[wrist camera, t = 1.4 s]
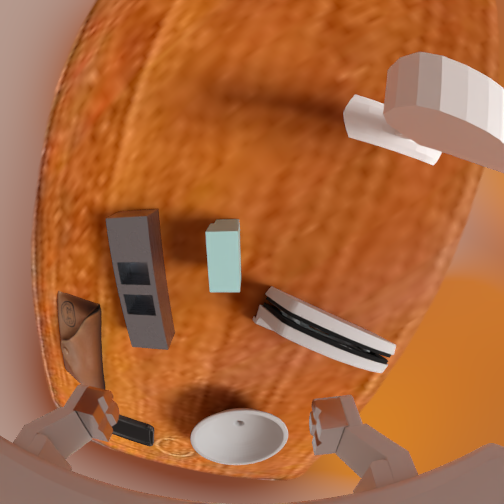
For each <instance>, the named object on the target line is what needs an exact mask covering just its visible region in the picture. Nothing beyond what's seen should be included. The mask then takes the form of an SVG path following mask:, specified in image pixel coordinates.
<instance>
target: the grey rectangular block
mask: <svg viewBox="0 0 504 504" xmlns="http://www.w3.org/2000/svg"><path fill="white" fill-rule="evenodd" d="M106 226H107V233H108V240H109V246H110V252H111V258H112V263H113V269H114V274H115V279H116V284H117V288H118V293H119V297H120V302H121V306H122V310H123V314H124V318H125V322H126V326H127V330H128V333H129V337H130V340H131V344H132V347H142V348H153V349H166V350H168V349H169V346H170V344H171V341H172V339H173V336H174V334H175V331H174V325H173V320H172V314H171V308H170V302H169V295H168V289H167V282H166V275H165V267H164V259H163V251H162V242H161V233H160V223H159V212H158V209H148V210H131V211H119V212H117V213H115V214H113V215H111V216H110V217H108V218H106Z"/></svg>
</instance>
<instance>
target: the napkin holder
mask: <svg viewBox="0 0 504 504" xmlns="http://www.w3.org/2000/svg"><path fill="white" fill-rule="evenodd" d="M265 295H267V298H266V299H267V300H268V301H269V302H271V303H272V304H273V305H275V306H276V307H277V308H279V309H280V310H278V309H277V308H275V307H273V306H271V305H269V304H266V303H264V304H263V305H260V306H259V309H258V312H257V316H256V317H255V316H253V319H252V320H253V321H254V323H256V324H258V325H260V326H263V327H265V328H267V329H270V330H272V331H275V332H276V333H278V334H279V335H281V336H283V337H285V338H287V339H289V340H291V341H293V342H295V343H297V344H299V345H302V346H304V347H306V348H308V349H310V350H313V351H315V352H318V353H320V354H322V355H325V356H327V357H330V358H332V359H335V360H337V361H340V362H343V363H346V364H349V365H352V366H355V367H358V368H362V369H365V370H369V371H373V372H378V373H382V372H383V371H384V370H385V369H386V367H387V366H388V364H387V362H388V360H387V359H385V358H384V357H382V356H381V355H383V356H386V357H390V356H391V355H394V352H395V348H396V345H395V344H393V343H391V342H390V341H388V340H386V339H384V338H382V337H380V336H378V335H377V334H375V333H373V332H370V331H368V330H366V329H364V328H361V327H359V326H357V325H355V324H352V323H350V322H348V321H346V320H344V319H341V318H339V317H337V316H335V315H333V314H330V313H328V312H326V311H324V310H322V309H319V308H317V307H315V306H313V305H311V304H309V303H306V302H304V301H302V300H300V299H298V298H296V297H294V296H291V295H289V294H287V293H285V292H283V291H281V290H279V289H276V288H274V287H272V286H271V287H270V288H269V289H268V291H267V292H266V293H265ZM309 326H311V327H314V328H316V329H318V330H320V331H322V332H325V333H327V334H329V335H327V334H325V333H322V332H320V331H317V330H315V329H313V328H310V327H309ZM379 354H380V355H379Z"/></svg>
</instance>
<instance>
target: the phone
mask: <svg viewBox="0 0 504 504" xmlns="http://www.w3.org/2000/svg"><path fill="white" fill-rule="evenodd" d="M112 428H113V433H112V434H114V435H117V436H120V437H123V438H125V439H128V440H131V441H134V442H137V443H140V444H144V445H147V446H153V443H154V427H153V426H151V425H149V424H146V423H143V422H140V421H136V420H133V419H131V418H128V417H125V416H122V415H119V419H118V421H117V424H115V425H113V426H112Z"/></svg>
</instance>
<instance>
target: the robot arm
mask: <svg viewBox="0 0 504 504" xmlns="http://www.w3.org/2000/svg"><path fill="white" fill-rule="evenodd" d="M112 399H113V394H112V392H111V391H109V390H105V389H100V388H96V387H92V386H87V385H83V384H80V385H78V386H77V387H76V389H75V390H74V392H73V393H72V395H71V397H70V398H69V400H68V401H67V403H66V404H65V406H64V407H60V408H58V409H56V410H54V411H52V412H50V413H48V414H46V415H44V416H42V417H40V418H38V419H36V420H34V421H32V422H30V423H28V424H26V425H24V427H23V428H22V430H21V431H20V433H19V434H18V436H17V437H16V439H15V440H14V442H13V443H12V442H10V441H8V440H6V439H5V438H3V437H2V436H0V504H226V503H210V502H199V501H190V500H183V499H176V498H169V497H163V496H157V495H153V494H148V493H143V492H138V491H134V490H130V489H126V488H122V487H119V486H114V485H111V484H108V483H105V482H102V481H98V480H95V479H92V478H89V477H87V476H84V475H81V474H78V473H75V472H73V471H72V467H71V466H70V464H69V463H68V462H67V461H66V460H65V459H67V458H68V457H69V456H70V455H72V454H73V453H75V452H76V451H77V450H78V449H80V448H81V447H82V446H84V445H85V444H86V443H87V442H89V441H90V440H91V439H92V438H95V439H99V440H103V441H107V442H109V440H110V437H111V435H112V433H113V428H112V426H113V425H115V424H117V421H118V419H119V408H118V405H117V404H116V403H115V402H114V401H113V400H112ZM311 406H312V412H310V417H309V427H310V433H311V435H313V441H312V444H313V450H314V455H322V454H331V453H336V454H337V456H339V457H340V459H342V460H343V461H344V462H345V463H346V464H347V465H348V466H349V467H350V468H351V469H352V470H353V471H354V472H355V473H356V474H357V475H359V476H360V477H361V478H362V479H361V480H360V482H359V483H358V485H357V486H356V488H355V489H354V491H353V492H354V493H353V494H349V495H343V496H338V497H332V498H326V499H319V500H311V501H302V502H291V503H275V504H504V447H502V446H500V445H496V444H493V443H490V444H487V445H484V446H482V447H480V448H479V449H477V450H475V451H473V452H471V453H469V454H467V455H465V456H463V457H461V458H459V459H456V460H454V461H452V462H450V463H447V464H445V465H443V466H440V467H438V468H436V469H433V470H431V471H428V472H425V473H423V474H420V475H418V473H417V471H416V468H415V466H414V464H413V461H412V459H411V456H410V454H409V452H408V451H407V450H405V449H404V448H402V447H401V446H399V445H398V444H396V443H394V442H393V441H391V440H390V439H388V438H387V437H385V436H384V435H382V434H381V433H379V432H378V431H376V430H375V429H373V428H372V427H370V426H369V425H367V424H362V421H361V418H360V415H359V413H358V410H357V407H356V405H355V402H354V399H353V397H352V396H351V395H345V396H338V397H329V398H320V399H313V401H312V405H311Z"/></svg>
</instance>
